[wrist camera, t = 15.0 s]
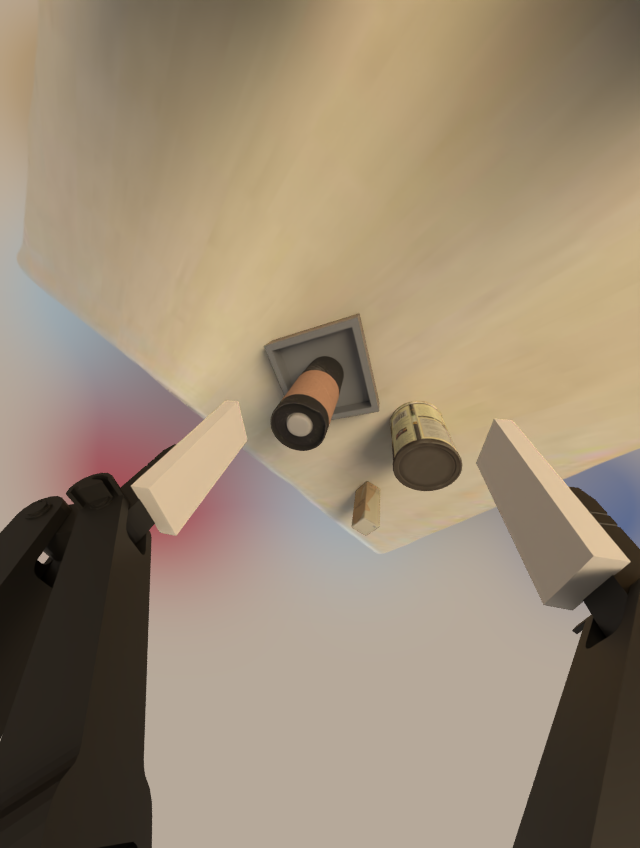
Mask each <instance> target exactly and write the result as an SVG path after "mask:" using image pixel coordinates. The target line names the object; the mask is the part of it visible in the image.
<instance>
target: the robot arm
mask: <svg viewBox="0 0 640 848" xmlns="http://www.w3.org/2000/svg"><path fill="white" fill-rule="evenodd" d="M246 442H247V436H246V432H245V427H244V423H243V419H242V415H241V411H240V407H239V402H238V401H229V400H226V401H225V402H224V403H222V404H221V405H220V406H219V407H218V408H217V409H216V410H215V411H213V412H212V413H211V414H210V415H209V416H208V417H207V418H206V419H205V420H203V421H202V422H201V423H200V424H199V425H198V426H197V427H196V428H195V429H193V430H192V431H191V432H190V433H189V434H188V435H187V436H186V437H185V438H183V439H182V440H181V441H180V442H179V443H178V444H177V445H176V444H175V445H172V446H171V447H169V448H167V449H165V450H163V451H162V452H161V453H160V454H159V455H158V456H157V457H155V459H154V460H152V461H151V462H150V463H148V465H147V466H145V467H144V468H143V469H141V470H140V471H139V472H138V473H137V474H136V475H135V476H133V477H132V478H131V479H130V480H129V481H128V482H127V483H125V484H124V485H123V486H122V487H121V488H120V487H119V485H118V484H117V482H116V481H115V479H114V478H113V476H112V475H110V474H109V473H99V474H95V475H91V476H89V477H86V478H84V479H82V480H80V481H79V482H77V483H75V484H74V485H73V486H72V487H70V488H69V490H68V491H67V493H66V495H67V496H68V497H69V498H70V499H71V500H72V501H73V502H74V504H72V505H68V504H67V503H66V502H65V501H64V500H63V499H62V498H61V497H58V496H53V497H48V498H44V499H41V500H38V501H37V502H34V503H32V504H30V505H29V506H27V507H26V508H24V509H23V510H22V511H21V512H19V513H18V514H17V515H16V516H15V518H13V520H12V521H11V522H10V523H9V524H8V525H7V526H6V527H5V528H4V530H3V531H2V532H1V533H0V738H1V736H2V738H1V741H0V848H152V801H151V795H150V788H149V785H148V782H147V780H146V777H145V772H144V735H145V706H146V703H145V702H146V676H147V648H148V620H149V619H148V618H149V592H150V563H151V533H150V531H149V530H150V528H151V527H152V526H153V525H154V524H155V525H156V527H157V528H158V530H159V531H160V532H161V533H165V534H170V535H177V533H179V531H180V530H181V529H182V527H183V526H184V525H185V523H186V522H187V521H188V519H189V518H190V516H191V515H192V514H193V513H194V511H195V510H196V508H197V507H198V506H199V504H200V503H201V502H202V500H203V499H204V498H205V496H206V495H207V493H208V492H209V491H210V490H211V488H212V487H213V486H214V484H215V483H216V482H217V480H218V479H219V477H220V476H221V475H222V474H223V472H224V471H225V470H226V468H227V467H228V466H229V464H230V463H231V462H232V460H233V459H234V458H235V456H236V455H237V454H238V452H239V451H240V450H241V448H242V447H243V446H244V444H245V443H246ZM476 464H477V466H478V468H479V470H480V472H481V474H482V476H483V478H484V481H485V483H486V485H487V487H488V489H489V491H490V493H491V495H492V497H493V499H494V502H495V504H496V506H497V508H498V510H499V512H500V514H501V516H502V518H503V520H504V523H505V525H506V527H507V529H508V531H509V533H510V535H511V537H512V539H513V541H514V543H515V545H516V548H517V550H518V552H519V554H520V556H521V558H522V560H523V563H524V565H525V567H526V569H527V571H528V573H529V575H530V577H531V579H532V581H533V583H534V586H535V588H536V590H537V592H538V594H539V596H540V598H541V600H542V602H543V605H547V606H553V607H557V608H563V609H568V610H574V609H575V608H576V607H577V606H578V605H580V604H581V603H582V602H583V601H584V603H585V604H586V606H587V607H588V609H589V611H590V613H591V614H592V615H590V616H589V617H588V618H586V619H585V620H584V621H582V622H581V623H580V624H578V625H577V626H576V627H575V628H574V629H573V632H575V633H576V634H578V633H579V632H581V631H582V630H583V631H582V634H581V637H580V640H579V643H578V646H577V649H576V652H575V655H574V658H573V662H572V665H571V668H570V671H569V674H568V678H567V681H566V683H565V686H564V690H563V693H562V696H561V699H560V702H559V706H558V708H557V712H556V715H555V718H554V721H553V724H552V727H551V730H550V733H549V736H548V740H547V743H546V746H545V749H544V752H543V755H542V758H541V761H540V764H539V767H538V770H537V774H536V777H535V780H534V783H533V786H532V789H531V792H530V795H529V798H528V801H527V805H526V808H525V811H524V814H523V817H522V820H521V823H520V826H519V829H518V833H517V836H516V839H515V842H514V845H513V848H640V549H639V548H638V547H637V546H636V544H635V543H634V542H633V541H632V540H631V539H630V538H629V537H628V536H627V534H626V533H625V532H624V531H623V530H622V529H621V528H620V527H617V524H616V522H615V521H614V520H613V519H612V518H611V517H610V516H608V515H607V512H606V511H605V510H604V509H603V508H602V507H601V506H600V505H599V503H598V502H597V501H596V500H595V499H593V498H592V497H591V496H589V495H588V494H586V493H585V492H583V491H582V490H581V489H579V488H575V487H568V486H567V485H566V484H565V482H564V481H563V480H562V479H561V478H560V476H559V475H558V474H557V473H556V472H555V470H554V469H553V468H552V467H551V466H550V464H549V463H548V462H547V461H546V460H545V458H544V457H543V456H542V455H541V454H540V452H539V451H538V450H537V449H536V448H535V446H534V445H533V444H532V443H531V442H530V440H529V439H528V438H527V437H526V436H525V434H524V433H523V432H522V431H521V430H520V428H519V427H518V426H517V425H516V424H515V422H514V421H513V420H506V419H494V420H493V423H492V425H491V428H490V430H489V433H488V435H487V437H486V440H485V442H484V445H483V447H482V450H481V452H480V455H479V457H478V460H477V462H476ZM43 551H44V552H45V553H46V554H47V555H48V556H49V558H48V559H47V561H46V562H45V563H44V564H42V563H40V562H39V561H38V560H37V559H38V557H39V556H40V555H41V554H42V552H43ZM2 734H3V735H2Z"/></svg>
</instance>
